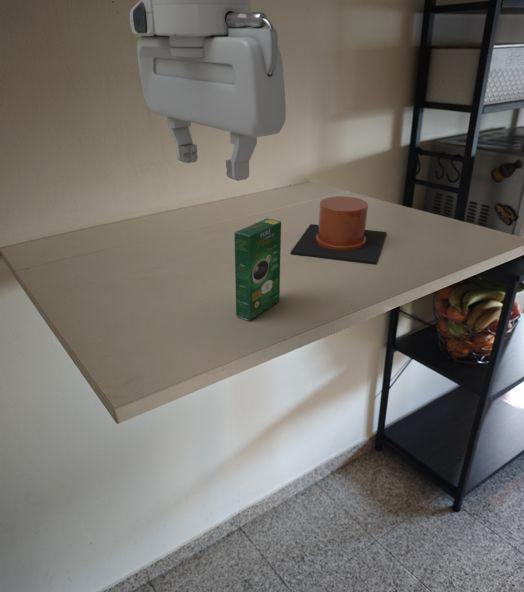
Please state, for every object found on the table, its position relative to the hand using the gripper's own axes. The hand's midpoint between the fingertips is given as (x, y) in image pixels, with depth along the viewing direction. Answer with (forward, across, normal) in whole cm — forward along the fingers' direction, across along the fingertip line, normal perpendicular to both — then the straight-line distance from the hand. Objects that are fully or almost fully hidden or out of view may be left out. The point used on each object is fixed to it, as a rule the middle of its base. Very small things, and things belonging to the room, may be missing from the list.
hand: (211, 169), depth 53 cm
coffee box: (+24, +6, -11) cm, 27 cm away
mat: (+24, +17, -40) cm, 50 cm away
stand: (+23, +17, -40) cm, 50 cm away
